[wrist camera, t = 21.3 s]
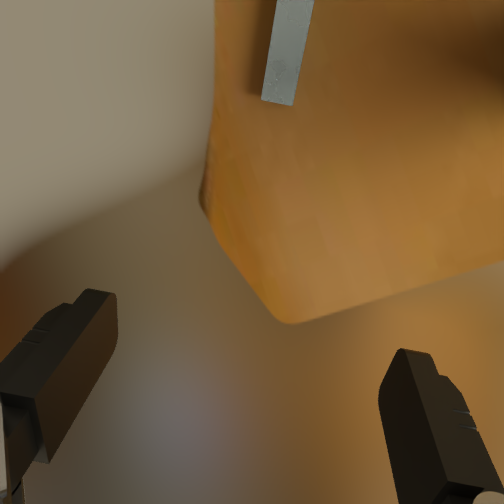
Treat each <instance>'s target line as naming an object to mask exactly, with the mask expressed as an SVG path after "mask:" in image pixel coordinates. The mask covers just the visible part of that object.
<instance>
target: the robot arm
mask: <svg viewBox="0 0 504 504" xmlns="http://www.w3.org/2000/svg"><path fill="white" fill-rule="evenodd" d="M117 339H118V318H117V298H116V295H115V294H114V293H110V292H105V291H100V290H95V289H89V288H88V289H85V290H84V291H83V292H82V294H81V295H80V296H79V297H78V298H77V299H76V301H75V302H74V303H73V304H68V303H62V304H61V305H59V306H57V307H55V308H54V309H52V310H50V311H49V312H47V313H46V314H45V315H43V317H42V318H41V319H40V320H39V321H38V322H37V323H36V324H35V325H34V327H33V329H32V330H30V331H29V332H28V333H27V334H26V335H25V337H24V338H23V339H22V342H19V343H18V344H17V345H16V346H15V347H14V349H13V350H12V351H11V352H10V353H9V354H8V355H7V356H6V357H5V358H4V360H3V361H2V362H1V363H0V504H25V493H24V482H23V475H24V474H25V472H26V471H27V469H28V468H29V466H30V464H31V463H32V461H36V462H41V463H46V464H49V463H50V461H51V459H52V458H53V456H54V454H55V453H56V451H57V449H58V448H59V446H60V444H61V442H62V441H63V439H64V437H65V435H66V434H67V432H68V430H69V429H70V427H71V425H72V423H73V422H74V420H75V418H76V417H77V415H78V413H79V411H80V410H81V408H82V406H83V404H84V403H85V401H86V399H87V398H88V396H89V394H90V392H91V391H92V389H93V387H94V385H95V384H96V382H97V381H98V379H99V377H100V375H101V374H102V372H103V370H104V368H105V367H106V365H107V363H108V362H109V360H110V358H111V356H112V354H113V352H114V350H115V347H116V344H117ZM378 396H379V397H378V405H379V411H380V416H381V421H382V425H383V430H384V435H385V440H386V444H387V449H388V454H389V459H390V464H391V468H392V473H393V478H394V482H395V488H396V492H397V497H398V502H399V504H504V488H503V485H502V483H501V481H500V479H499V476H498V474H497V472H496V470H495V468H494V465H493V463H492V461H491V458H490V456H489V454H488V452H487V449H486V447H485V445H484V443H483V440H482V438H481V436H480V434H479V432H477V430H476V425H475V422H474V420H473V418H472V416H470V414H469V413H470V411H469V409H468V407H467V405H466V402H465V400H464V398H463V396H462V393H461V392H460V391H459V390H458V389H457V388H456V386H455V385H454V384H453V383H452V382H451V381H450V379H449V378H448V377H447V376H442V375H439V374H438V372H437V369H436V366H435V364H434V361H433V359H432V357H431V355H430V354H428V353H423V352H419V351H413V350H408V349H402V348H400V349H399V350H397V352H396V354H395V356H394V358H393V360H392V362H391V364H390V366H389V368H388V370H387V373H386V375H385V377H384V379H383V381H382V383H381V385H380V389H379V395H378Z"/></svg>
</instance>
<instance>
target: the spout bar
mask: <svg viewBox="0 0 504 504" xmlns="http://www.w3.org/2000/svg"><path fill="white" fill-rule="evenodd" d="M313 5H314V0H277V5H276V11H275V17H274V23H273V29H272V35H271V41H270V47H269V53H268V59H267V65H266V71H265V77H264V84H263V90H262V96H261V100H264V101H269V102H274V103H279V104H284V105H290V106H293V101H294V96H295V92H296V87H297V82H298V77H299V72H300V67H301V63H302V58H303V53H304V48H305V43H306V38H307V34H308V29H309V24H310V19H311V14H312V9H313Z"/></svg>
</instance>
